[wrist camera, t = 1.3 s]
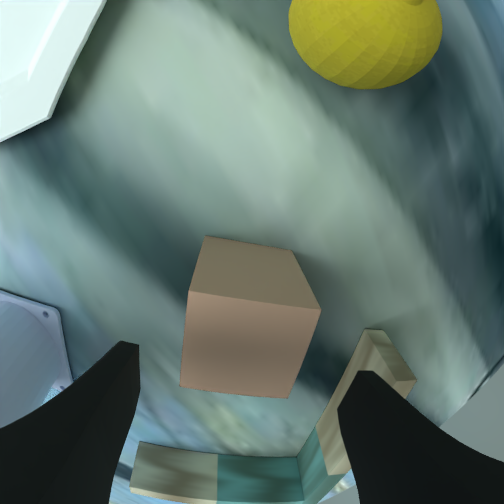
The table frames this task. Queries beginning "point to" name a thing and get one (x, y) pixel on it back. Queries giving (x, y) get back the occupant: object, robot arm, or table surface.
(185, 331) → the block
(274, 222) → the table surface
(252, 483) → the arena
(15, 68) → the plate
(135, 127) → the table surface
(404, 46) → the lemon
